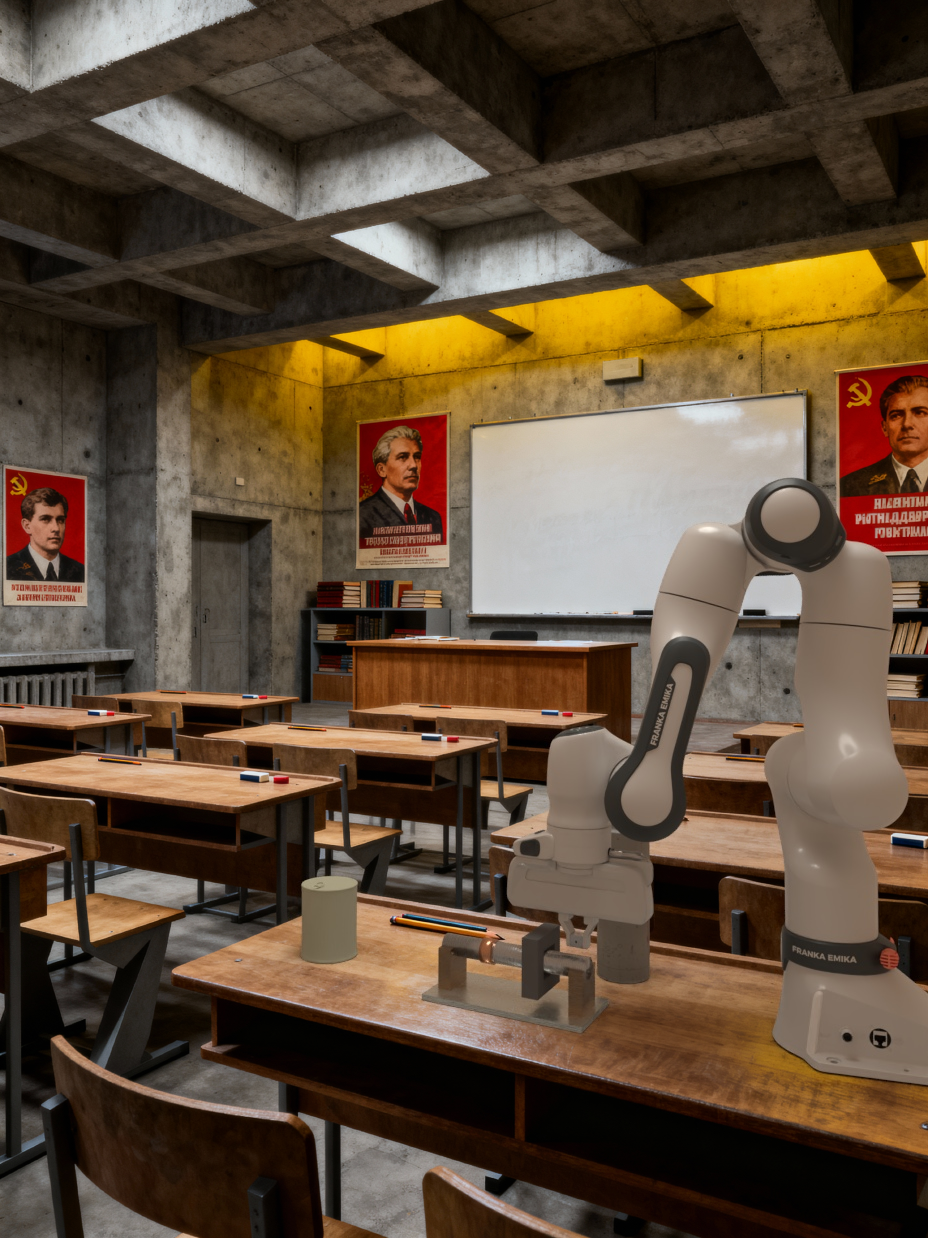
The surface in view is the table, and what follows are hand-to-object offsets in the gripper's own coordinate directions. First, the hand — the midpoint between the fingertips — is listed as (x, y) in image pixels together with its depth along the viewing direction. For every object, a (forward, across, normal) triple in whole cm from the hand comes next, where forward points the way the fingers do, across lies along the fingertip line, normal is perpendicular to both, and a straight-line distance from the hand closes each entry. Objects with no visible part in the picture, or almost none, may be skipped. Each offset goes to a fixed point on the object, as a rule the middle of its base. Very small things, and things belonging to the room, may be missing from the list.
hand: (578, 947), depth 126 cm
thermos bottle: (+9, 0, -18) cm, 20 cm away
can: (+10, +44, -4) cm, 46 cm away
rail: (+9, +10, 0) cm, 13 cm away
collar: (+7, +5, 0) cm, 9 cm away
